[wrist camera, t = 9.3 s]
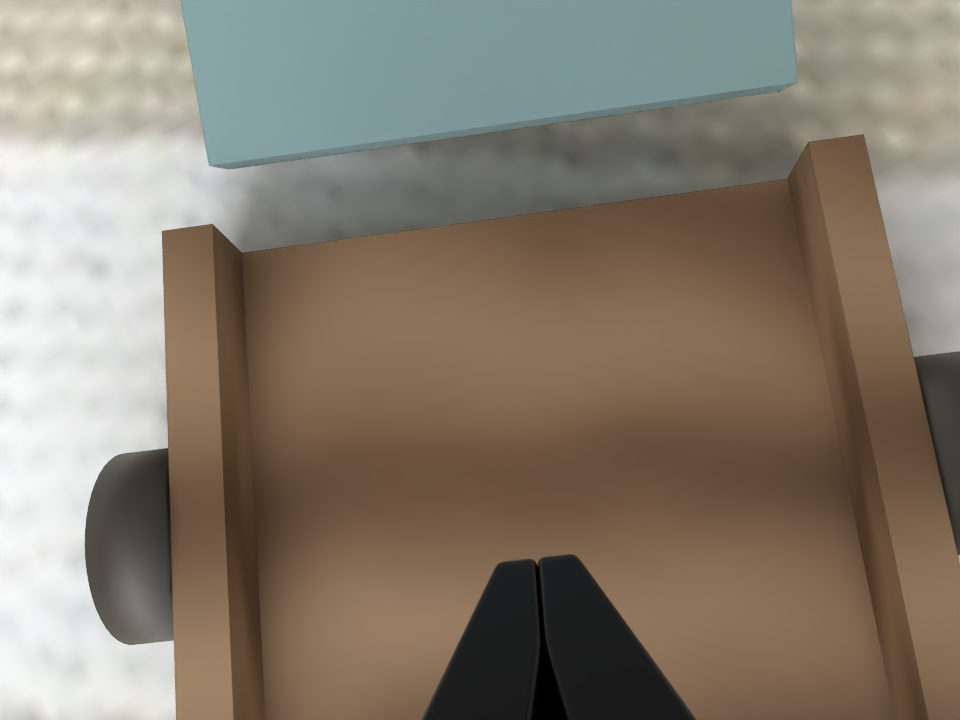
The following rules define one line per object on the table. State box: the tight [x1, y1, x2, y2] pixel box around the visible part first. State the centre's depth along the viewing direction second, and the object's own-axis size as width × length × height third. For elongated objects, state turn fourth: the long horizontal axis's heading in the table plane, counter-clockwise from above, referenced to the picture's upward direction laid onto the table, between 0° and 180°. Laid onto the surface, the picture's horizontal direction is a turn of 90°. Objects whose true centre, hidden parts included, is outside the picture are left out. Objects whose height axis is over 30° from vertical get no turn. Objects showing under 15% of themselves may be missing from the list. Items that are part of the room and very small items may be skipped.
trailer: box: [85, 134, 960, 720], centre depth 21 cm, size 14×19×4 cm
